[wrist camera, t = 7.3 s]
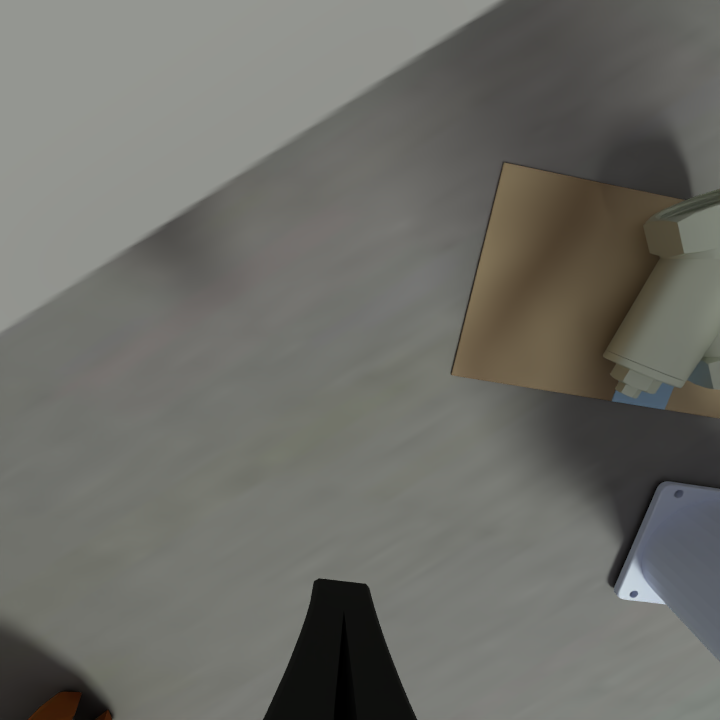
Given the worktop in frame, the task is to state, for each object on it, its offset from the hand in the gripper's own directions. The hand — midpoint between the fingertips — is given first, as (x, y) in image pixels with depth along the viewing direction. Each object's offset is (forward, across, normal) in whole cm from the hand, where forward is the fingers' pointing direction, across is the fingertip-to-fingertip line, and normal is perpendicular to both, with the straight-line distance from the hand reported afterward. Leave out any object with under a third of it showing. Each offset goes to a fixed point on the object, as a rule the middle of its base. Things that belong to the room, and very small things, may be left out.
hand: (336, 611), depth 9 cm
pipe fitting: (+10, -14, -9) cm, 20 cm away
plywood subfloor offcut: (+10, -15, -9) cm, 20 cm away
